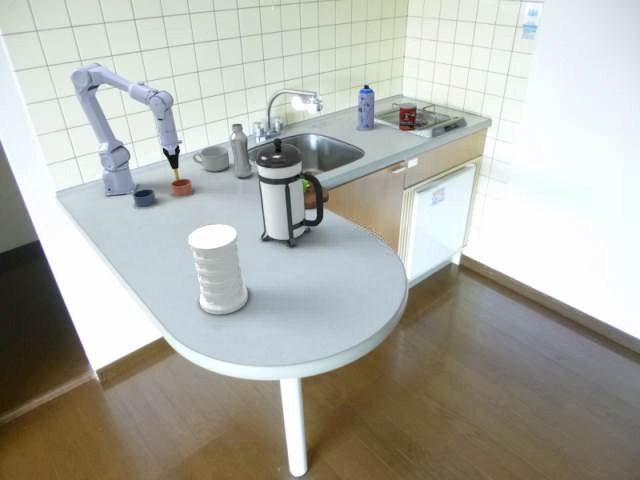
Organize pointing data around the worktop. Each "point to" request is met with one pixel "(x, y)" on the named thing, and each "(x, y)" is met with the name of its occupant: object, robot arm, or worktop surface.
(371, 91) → the aerosol can
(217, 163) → the teacup
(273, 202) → the coffee press
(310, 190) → the plant
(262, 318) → the worktop surface
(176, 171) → the pencil
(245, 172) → the plastic bottle
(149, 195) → the left pot
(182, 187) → the right pot
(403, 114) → the canned food
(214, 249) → the decorative container
